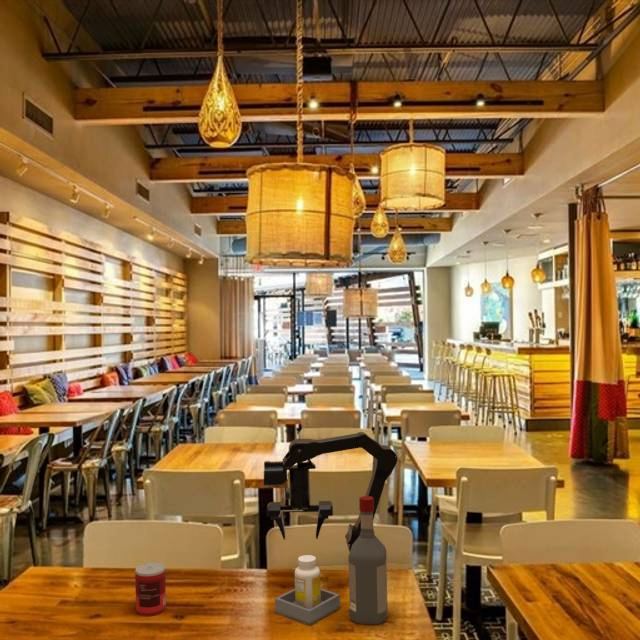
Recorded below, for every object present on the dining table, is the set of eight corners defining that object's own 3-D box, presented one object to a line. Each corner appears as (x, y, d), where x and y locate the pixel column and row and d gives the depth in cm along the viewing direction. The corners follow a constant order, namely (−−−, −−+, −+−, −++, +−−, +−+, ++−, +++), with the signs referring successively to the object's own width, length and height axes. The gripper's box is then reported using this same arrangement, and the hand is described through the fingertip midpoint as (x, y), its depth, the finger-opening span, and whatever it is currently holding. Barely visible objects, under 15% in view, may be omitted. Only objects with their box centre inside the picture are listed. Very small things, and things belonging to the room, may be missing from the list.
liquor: (388, 609, 163) (385, 493, 163) (385, 626, 154) (383, 503, 154) (353, 607, 165) (350, 492, 165) (348, 623, 156) (346, 502, 156)
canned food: (156, 600, 171) (155, 560, 171) (171, 609, 166) (171, 567, 166) (130, 609, 166) (129, 568, 166) (145, 619, 160) (144, 576, 160)
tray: (305, 596, 172) (305, 583, 172) (340, 608, 165) (339, 594, 165) (275, 612, 163) (274, 598, 163) (310, 625, 155) (309, 611, 155)
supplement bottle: (320, 601, 167) (319, 553, 167) (321, 612, 161) (320, 562, 161) (295, 602, 167) (294, 553, 167) (295, 613, 160) (294, 563, 160)
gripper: (331, 476, 188) (332, 529, 188) (269, 478, 188) (270, 530, 188) (332, 486, 177) (333, 542, 177) (265, 487, 177) (267, 543, 177)
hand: (300, 538), depth 180 cm, fingers open, 9 cm apart
